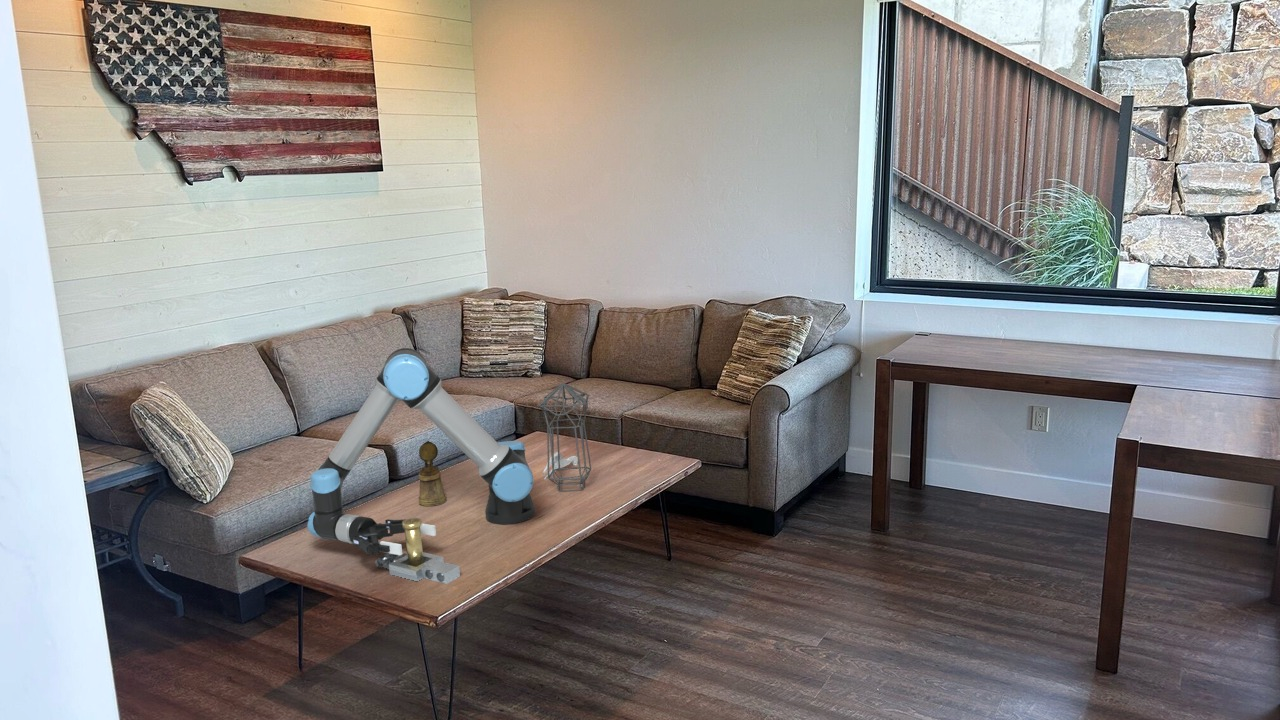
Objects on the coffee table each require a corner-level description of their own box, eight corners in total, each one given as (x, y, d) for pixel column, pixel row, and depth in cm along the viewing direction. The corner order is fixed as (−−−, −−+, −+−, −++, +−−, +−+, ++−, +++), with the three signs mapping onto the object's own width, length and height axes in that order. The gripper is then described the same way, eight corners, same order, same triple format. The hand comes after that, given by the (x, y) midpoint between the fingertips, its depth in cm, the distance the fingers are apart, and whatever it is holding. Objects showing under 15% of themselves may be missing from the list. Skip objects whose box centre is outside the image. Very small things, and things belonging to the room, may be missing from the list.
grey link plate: (368, 569, 250) (367, 559, 249) (396, 555, 258) (395, 545, 257) (439, 587, 236) (438, 576, 235) (466, 572, 244) (465, 562, 244)
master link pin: (427, 566, 250) (422, 517, 247) (425, 574, 245) (420, 523, 242) (408, 568, 249) (402, 519, 246) (406, 576, 244) (400, 525, 241)
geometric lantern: (544, 495, 300) (535, 390, 294) (551, 481, 316) (543, 380, 310) (593, 493, 299) (584, 387, 293) (597, 478, 315) (590, 377, 309)
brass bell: (447, 491, 310) (441, 439, 306) (446, 504, 297) (441, 450, 293) (419, 494, 308) (414, 442, 304) (418, 508, 295) (412, 453, 291)
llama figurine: (554, 495, 319) (579, 462, 331) (544, 470, 313) (570, 437, 326) (549, 494, 320) (575, 461, 332) (540, 469, 314) (566, 436, 327)
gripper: (389, 526, 265) (449, 536, 256) (324, 560, 244) (387, 572, 234) (386, 501, 264) (446, 510, 254) (321, 533, 242) (384, 544, 233)
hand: (418, 540), depth 244 cm, fingers open, 13 cm apart
